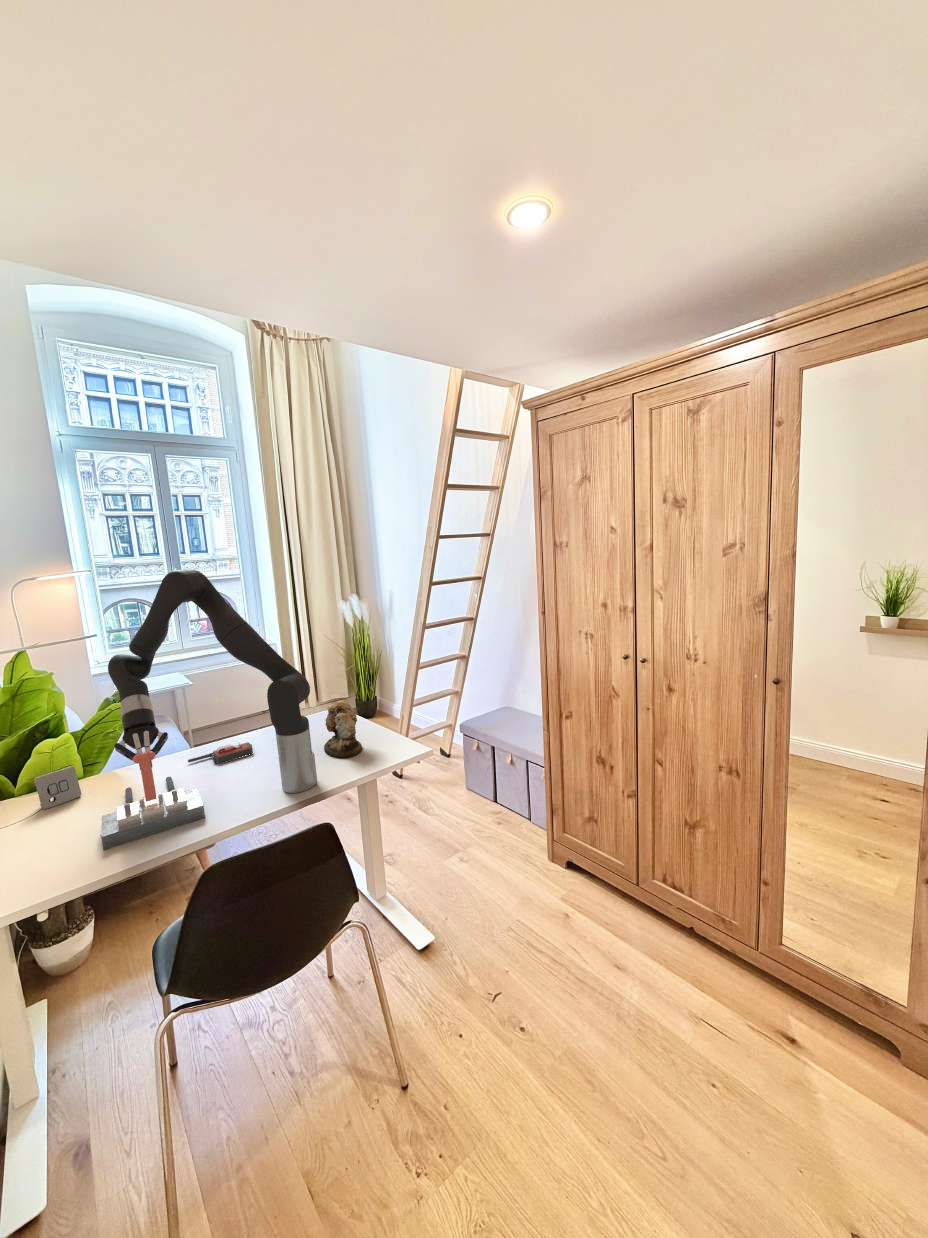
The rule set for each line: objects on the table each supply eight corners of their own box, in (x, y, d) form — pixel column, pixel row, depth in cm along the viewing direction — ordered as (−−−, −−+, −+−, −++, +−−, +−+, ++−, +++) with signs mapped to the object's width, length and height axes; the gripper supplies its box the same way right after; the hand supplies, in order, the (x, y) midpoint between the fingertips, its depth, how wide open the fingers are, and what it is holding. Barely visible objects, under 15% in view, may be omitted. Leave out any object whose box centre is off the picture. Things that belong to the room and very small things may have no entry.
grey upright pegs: (173, 779, 155) (172, 771, 155) (180, 805, 139) (179, 796, 139) (123, 793, 148) (122, 785, 148) (125, 822, 132) (123, 813, 132)
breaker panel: (198, 799, 142) (194, 773, 141) (205, 817, 132) (201, 789, 131) (104, 828, 130) (99, 800, 128) (103, 850, 120) (97, 820, 119)
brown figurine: (315, 746, 175) (311, 699, 173) (347, 737, 182) (343, 692, 180) (337, 762, 161) (332, 711, 159) (370, 751, 168) (366, 702, 166)
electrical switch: (42, 811, 140) (35, 779, 139) (38, 807, 144) (31, 776, 143) (82, 797, 148) (76, 766, 147) (77, 793, 151) (71, 764, 150)
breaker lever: (162, 795, 132) (154, 749, 132) (162, 797, 130) (154, 750, 130) (139, 802, 129) (132, 754, 130) (140, 804, 127) (132, 756, 128)
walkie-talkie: (250, 746, 179) (187, 764, 167) (248, 735, 178) (185, 751, 166) (257, 754, 172) (192, 773, 160) (255, 742, 171) (190, 760, 160)
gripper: (107, 713, 135) (115, 772, 126) (164, 702, 142) (174, 757, 134) (110, 727, 140) (118, 784, 132) (165, 715, 147) (175, 769, 139)
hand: (146, 770), depth 133 cm, fingers closed
